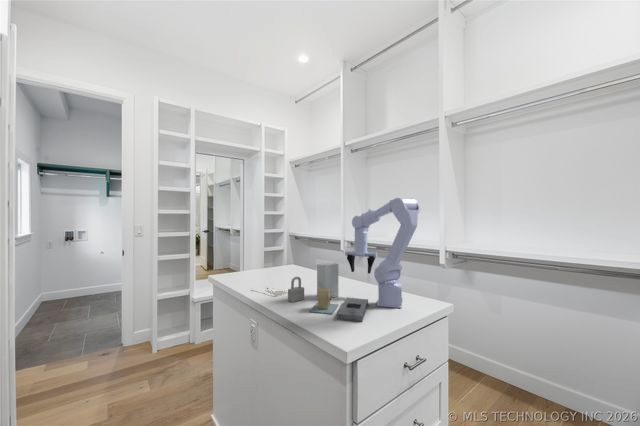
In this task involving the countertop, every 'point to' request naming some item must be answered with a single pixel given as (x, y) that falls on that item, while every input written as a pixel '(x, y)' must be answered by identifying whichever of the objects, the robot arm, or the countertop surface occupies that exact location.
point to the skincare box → (328, 278)
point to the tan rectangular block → (324, 298)
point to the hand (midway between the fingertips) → (361, 272)
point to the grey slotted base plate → (353, 309)
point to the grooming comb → (276, 292)
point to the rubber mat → (324, 311)
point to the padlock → (295, 291)
